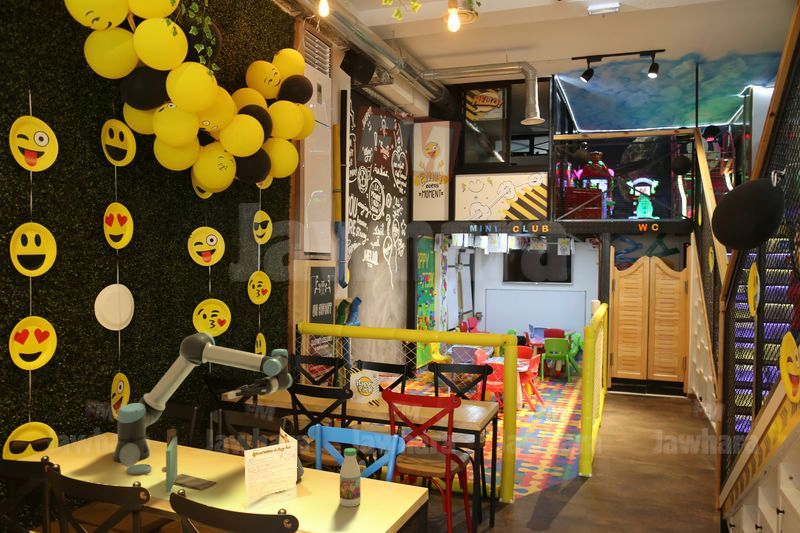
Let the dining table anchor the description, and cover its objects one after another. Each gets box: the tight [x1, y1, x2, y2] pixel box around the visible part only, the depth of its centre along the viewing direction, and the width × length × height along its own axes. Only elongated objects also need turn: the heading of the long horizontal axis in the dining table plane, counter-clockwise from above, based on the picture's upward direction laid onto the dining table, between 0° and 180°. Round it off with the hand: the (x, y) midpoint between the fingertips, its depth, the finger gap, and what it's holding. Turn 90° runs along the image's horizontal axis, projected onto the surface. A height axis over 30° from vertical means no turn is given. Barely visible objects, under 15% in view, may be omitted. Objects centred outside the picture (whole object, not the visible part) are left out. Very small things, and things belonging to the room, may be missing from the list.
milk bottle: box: [339, 447, 362, 508], centre depth 224 cm, size 8×8×20 cm
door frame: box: [166, 428, 218, 491], centre depth 245 cm, size 22×8×20 cm, turn 61°
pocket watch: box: [119, 443, 153, 476], centre depth 258 cm, size 10×11×15 cm
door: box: [161, 435, 178, 493], centre depth 240 cm, size 19×4×16 cm, turn 12°
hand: (229, 395), depth 259 cm, fingers closed
